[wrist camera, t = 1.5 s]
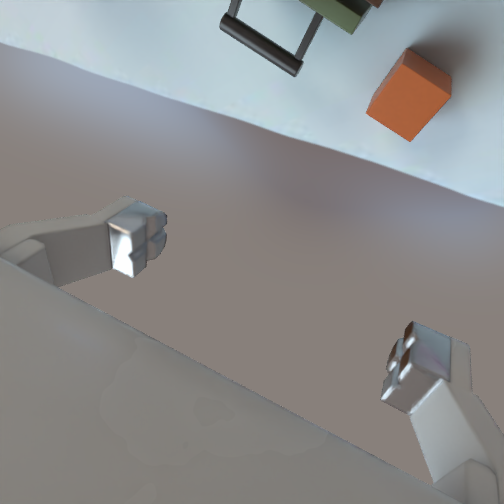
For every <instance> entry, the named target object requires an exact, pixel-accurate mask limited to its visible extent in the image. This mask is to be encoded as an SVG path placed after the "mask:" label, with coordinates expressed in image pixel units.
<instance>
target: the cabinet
mask: <svg viewBox="0 0 504 504" xmlns="http://www.w3.org/2000/svg"><path fill="white" fill-rule="evenodd" d="M366 1H367V2H369V3H370V4H372V5H373V6H375V7H376V8H379V6H380V5H381V3H382V2H383V1H384V0H366Z"/></svg>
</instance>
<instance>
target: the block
mask: <svg viewBox="0 0 504 504" xmlns="http://www.w3.org/2000/svg"><path fill="white" fill-rule="evenodd" d="M451 96H452V92H451V76H449V75H448V74H446V73H445V72H443V71H442V70H440V69H439V68H437V67H436V66H434V65H433V64H431V63H429V62H428V61H426V60H425V59H423V58H422V57H420V56H419V55H417V54H416V53H414V52H413V51H411V50H410V49H408V48H406V49H405V51H404V52H403V54H402V55H401V56H400V58H399V59H398V61H397V62H396V63H395V65H394V66H393V68H392V69H391V70H390V72H389V73H388V75H387V76H386V78H385V79H384V80H383V82H382V83H381V85H380V86H379V87H378V89H377V90H376V92H375V93H374V94H373V97H372V99H371V102H370V104H369V106H368V109H367V111H366V114H367V115H369V116H370V117H372V118H373V119H375V120H377V121H378V122H380V123H381V124H383V125H384V126H386V127H387V128H389V129H390V130H392V131H394V132H395V133H397V134H398V135H400V136H401V137H403V138H404V139H406V140H407V141H409V142H411V141H412V140H413V138H414V137H415V136H416V135H417V134H418V133H419V132H420V131H421V129H422V128H423V127H424V126H425V125H426V124H427V123H428V122H429V121H430V119H431V118H432V117H433V116H434V115H435V114H436V113H437V112H438V111H439V109H440V108H441V107H442V106H443V105H444V104H445V103H446V102H447V100H448V99H449V98H450V97H451Z"/></svg>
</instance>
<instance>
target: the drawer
mask: <svg viewBox="0 0 504 504" xmlns="http://www.w3.org/2000/svg"><path fill="white" fill-rule="evenodd" d="M299 1H300V2H302V3H303V4H305V5H306V6H308V7H309V8H311V9H313V10H314V11H316V13H315V15H314V17H313V19H312V21H311V23H310V25H309V27H308V29H307V32H306V34H305V36H304V38H303V40H302V42H301V44H300V46H299V48H298V50H297V52H296V54H295V55H293V54H292V53H290V52H289V51H287V50H285V49H284V48H282V47H281V46H279V45H278V44H276V43H275V42H273V41H272V40H270V39H269V38H267V37H265V36H264V35H262V34H261V33H259V32H258V31H256V30H255V29H253V28H252V27H250V26H249V25H247V24H245V23H244V22H242V21H241V20H239V19H238V18H236V16H237V13H238V11H239V8H240V5H241V2H242V0H231V3H230V6H229V9H228V12H226V13H225V14H224V15H223V17H222V19H221V22H220V26H219V27H220V30H222V31H223V32H225V33H227V34H228V35H230V36H231V37H233V38H234V39H236V40H237V41H239V42H240V43H242V44H244V45H245V46H247V47H248V48H250V49H251V50H253V51H254V52H256V53H257V54H259V55H261V56H262V57H264V58H265V59H267V60H268V61H270V62H271V63H273V64H274V65H276V66H278V67H279V68H281V69H282V70H284V71H285V72H287V73H288V74H290V75H291V76H293V77H296V76H297V75H298V73H299V71H300V70H301V68H302V66H303V63H304V62H303V61H302V59H303V57H304V55H305V53H306V51H307V49H308V47H309V45H310V44H311V42H312V40H313V38H314V36H315V34H316V32H317V30H318V28H319V26H320V24H321V22H322V20H323V18H324V17H325V18H326V19H328V20H329V21H331V22H332V23H334V24H335V25H337V26H338V27H340V28H341V29H343V30H345V31H346V32H348V33H349V34H351V35H352V34H353V33H354V31H355V30H356V29H357V28H358V26H359V25H360V24H361V22H362V21H363V20H364V18H365V17H366V16H367V14H368V12H369V10H370V9H371V7H372V4H370V3H369V2H367V1H366V0H299Z"/></svg>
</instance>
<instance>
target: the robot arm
mask: <svg viewBox="0 0 504 504" xmlns="http://www.w3.org/2000/svg"><path fill="white" fill-rule="evenodd" d="M166 224H167V215H166V214H165V213H164V212H162V211H159V210H157V209H155V208H153V207H151V206H149V205H147V204H145V203H143V202H141V201H137V200H136V199H133V198H131V197H129V196H123V197H121V198H120V199H118V200H116V201H115V202H113V203H111V204H110V205H108V206H106V207H105V208H103V209H101V210H100V211H98V212H96V213H95V214H93V215H91V216H89V215H87V214H86V215H78V216H71V217H63V218H56V219H49V220H41V221H35V222H27V223H19V224H12V225H8V226H6V227H4V228H2V229H0V504H504V434H503V433H502V431H501V430H500V428H499V427H498V425H497V424H496V423H495V421H494V419H493V418H492V416H491V415H490V413H489V412H488V410H487V409H486V407H485V405H484V404H483V403H482V401H481V399H480V398H479V396H477V395H475V394H473V393H472V376H471V357H470V356H471V355H470V347H469V345H468V344H467V343H464V342H462V341H459V340H457V339H454V338H452V337H450V336H449V337H448V336H446V335H444V334H442V333H439V332H437V331H434V330H432V329H430V328H428V327H425V326H423V325H421V324H418V323H416V322H413V321H412V322H411V323H410V324H409V325H408V326H407V327H406V329H405V333H404V338H400V339H398V340H397V342H396V343H395V345H394V346H393V348H392V351H391V353H390V355H389V358H388V361H387V366H386V369H387V371H388V373H389V374H388V376H387V377H386V379H385V380H384V382H383V388H382V394H381V399H380V400H381V401H383V402H385V403H387V404H388V405H390V406H392V407H394V408H396V409H398V410H400V411H402V412H404V413H406V414H408V415H410V420H411V422H412V425H413V428H414V430H415V433H416V436H417V438H418V441H419V444H420V447H421V449H422V452H423V455H424V457H425V460H426V463H427V466H428V468H429V471H430V474H431V476H432V479H433V482H434V484H432V485H431V486H430V485H429V484H427V483H425V482H423V481H421V480H419V479H417V478H415V477H414V476H412V475H410V474H408V473H406V472H404V471H402V470H400V469H398V468H397V467H395V466H393V465H391V464H389V463H387V462H385V461H383V460H381V459H379V458H378V457H376V456H374V455H372V454H370V453H368V452H367V451H365V450H363V449H361V448H359V447H357V446H355V445H353V444H351V443H350V442H348V441H346V440H344V439H342V438H340V437H338V436H336V435H335V434H333V433H331V432H329V431H327V430H325V429H323V428H321V427H319V426H318V425H316V424H314V423H312V422H310V421H308V420H306V419H304V418H303V417H301V416H299V415H297V414H295V413H293V412H291V411H289V410H287V409H286V408H284V407H282V406H280V405H278V404H276V403H274V402H272V401H271V400H269V399H267V398H265V397H263V396H261V395H259V394H257V393H256V392H254V391H252V390H250V389H248V388H246V387H244V386H242V385H240V384H238V383H237V382H235V381H233V380H231V379H229V378H227V377H225V376H223V375H222V374H220V373H218V372H216V371H214V370H212V369H210V368H208V367H207V366H205V365H203V364H201V363H199V362H197V361H195V360H193V359H191V358H190V357H188V356H186V355H184V354H182V353H180V352H178V351H177V350H174V349H173V348H171V347H169V346H167V345H165V344H163V343H161V342H160V341H158V340H156V339H154V338H152V337H150V336H148V335H146V334H145V333H143V332H141V331H139V330H137V329H135V328H133V327H131V326H129V325H128V324H126V323H124V322H122V321H120V320H118V319H116V318H114V317H113V316H111V315H109V314H107V313H105V312H103V311H101V310H99V309H98V308H96V307H94V306H92V305H90V304H88V303H86V302H84V301H82V300H80V299H79V298H77V297H75V296H73V295H71V294H69V293H67V292H65V291H64V290H62V289H60V288H58V287H60V286H63V285H66V284H69V283H72V282H75V281H78V280H81V279H84V278H87V277H90V276H93V275H96V274H99V273H102V272H105V271H108V270H111V269H112V268H113V269H115V270H117V271H119V272H121V273H124V274H126V275H128V276H130V277H133V278H134V277H135V276H136V275H137V274H138V273H140V272H141V271H142V270H143V269H144V268H145V267H146V265H147V261H148V260H153V259H155V258H157V257H158V256H159V255H160V254H161V252H162V250H163V249H164V247H165V244H166V238H167V234H166V233H165V230H164V228H163V227H164V226H165V225H166Z"/></svg>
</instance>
